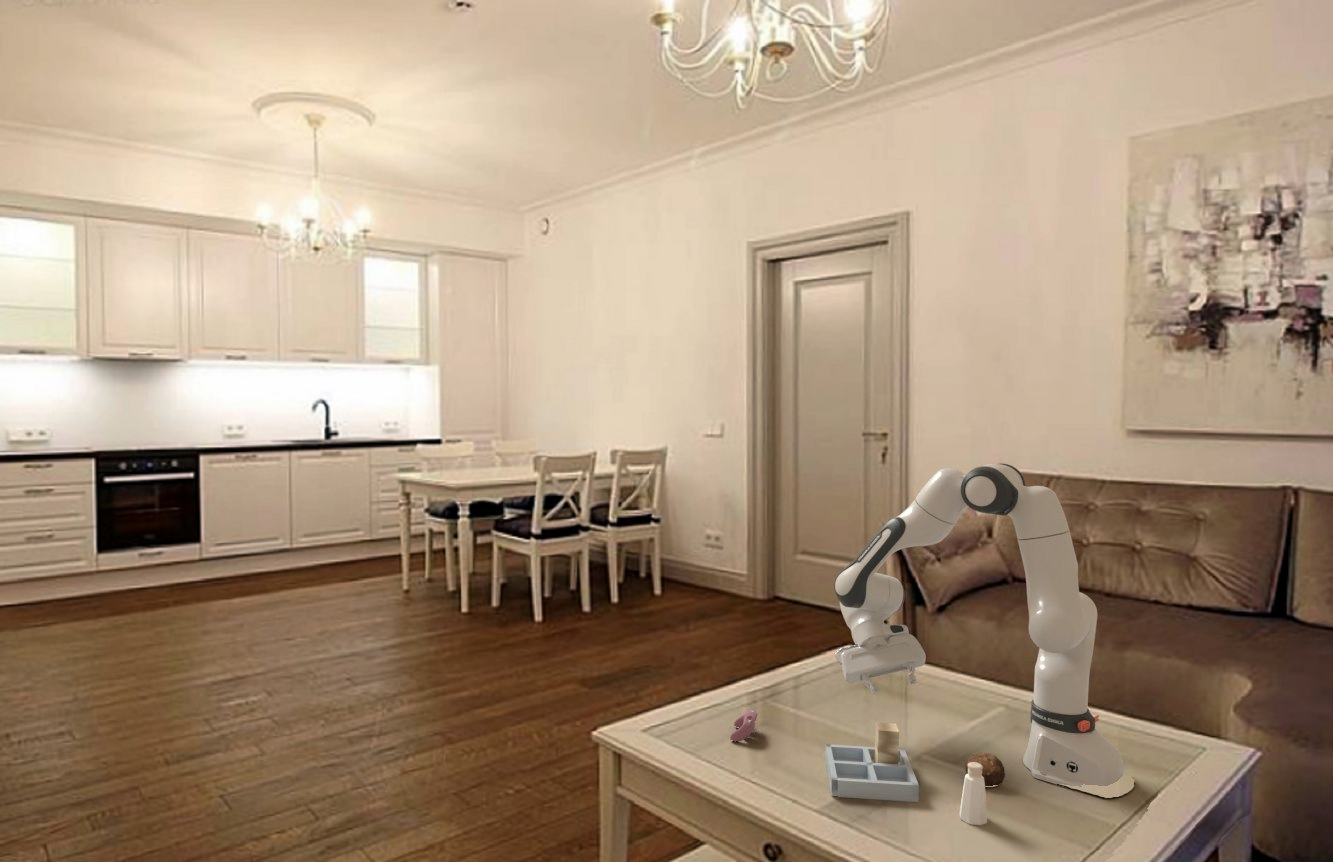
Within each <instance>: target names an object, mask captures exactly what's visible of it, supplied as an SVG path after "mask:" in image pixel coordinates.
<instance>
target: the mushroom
mask: <svg viewBox="0 0 1333 862" xmlns="http://www.w3.org/2000/svg"><path fill="white" fill-rule="evenodd" d="M970 762H976V763H979V764H981V765H982V766H983V769H982V776H983V777H984V782H985V786H993V785H998V786H1000V785H1001V784H1002V783H1003V782H1004V779H1005V778H1006V772H1005V771H1006V770H1005V766H1004V764H1003V763H1002V761H1001V759H999V758H998V756H997V755H995V754H992V753H986V752H980V753H977V754H973V755H972V756H971V757H969V758H968V759H967V761H966V762H965V764H964V768H965V773H966V774H968V763H970ZM999 784H1000V785H999Z"/></svg>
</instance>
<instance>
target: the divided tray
mask: <svg viewBox="0 0 1333 862" xmlns="http://www.w3.org/2000/svg"><path fill="white" fill-rule="evenodd" d="M874 761H875V746H862V745H861V746H859V745H846V744H845V745H844V744H830V743H829V744H827V743H826V744H825V743H824V763H825V768H826V773H827V779H828V784H829V791H830V796H831V797H832V796H838V797H837V798H850V799H851V798H852V799H863V800H864V799H865V800H878V801H879V800H881V801H895V802H909V803H911V802H913V803H919V798H920V797H919V796H920V794H919V793H920V784H919V782H918V780H917V777H916V775H915V772H914V769H913V767H912V765H911V762H910V760H909V757H908V755H907V753H906V750H905V748H899V753H898V764H884V763H875V762H874Z"/></svg>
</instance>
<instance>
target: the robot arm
mask: <svg viewBox="0 0 1333 862" xmlns="http://www.w3.org/2000/svg"><path fill="white" fill-rule="evenodd" d="M969 508H970V509H971V510H973V511H975V512H978V513H982V514H985V515H986V514H988V515H997V516H1008V517H1010V519H1011V522H1012V523H1013V526H1014V530H1015V534H1016V538H1017V544H1018V547H1019V551H1020V557H1021V561H1022V565H1023V569H1024V573H1025V582H1026V583H1025V584H1026V597H1027V608H1028V609H1027V610H1028V618H1029V620H1028V634H1029V636H1030V639H1031V640H1032V641H1033V643H1034V645H1036V646H1037V647H1038V648H1039V650H1038V654H1037V658H1036V659H1037V660H1036V663H1035V666H1034V678H1033V679H1034V684H1033V699H1032V700H1031V703H1030V723H1031V726H1030V731H1029V732H1030V734H1029V739H1028V742H1027V743H1028V744H1027V747H1026V751H1025V753H1024V756H1023V759H1022V762H1023V764H1024V765H1025V767H1026V768H1027V769H1029V770H1030V772H1031V776H1032V777H1033V778H1034V779H1036V780H1037V779H1038V780H1041V781H1045V782H1048V783H1051V784H1054V785H1057V784H1064V785H1070V786H1079V787H1082V786H1081V785H1083V784H1085V785H1098V786H1108V785H1110V784H1113V783H1115V782H1117V781H1118V780H1119V779H1120V778H1121V777H1122V776H1123V774H1124V773H1125V770H1124V769H1125V767H1124V762H1123V757H1122V754H1121V752H1119V751H1118V749H1117V748H1116V747H1115V746H1114V745H1112V744H1111V743H1110V742H1109V741H1108V739H1106V738H1105V736H1104V735H1102V734H1101V733H1100V732H1099V731H1098V729H1096V723H1097V722H1098V721H1099V720H1100V719H1099V717H1100V715H1095V716H1093V714H1092V713H1091V711H1090V710H1089V707H1088V703H1089V687H1090V685H1089V684H1090V681H1089V680H1090V672H1091V666H1092V660H1093V655H1094V654H1093V653H1094V648H1095V639H1096V633H1097V622H1098V609H1097V606H1096V604H1095V602H1094V601H1093V600H1092V599H1091V598H1090V597H1089V596H1088V595H1087V594H1085V593H1083V592H1080V587H1079V573H1078V572H1079V564H1078V560H1077V555H1076V551H1075V547H1074V543H1073V539H1072V535H1071V532H1070V531H1071V530H1070V527H1069V524H1068V520H1067V517H1066V515H1065V511H1064V509H1063V507H1062V505H1061V502H1060V500H1059V498H1058V496H1057V494H1056V492H1055V491H1054V490H1052V489H1051V488H1049V487H1046V486H1043V485H1032V486H1031V485H1030V486H1026V480H1025V477H1024V476H1023V474H1022V472H1021V471H1019V470H1018V469H1017V468H1016V467H1014V466H1013V465H1010V464H1007V463H987V464H984V465H981V466H977V467H974V468H973V469H971V470H970V471H969V472H967V474H965V473H963V472H962V471H960V470H958V469H956V468H952V467H951V468H950V467H944V468H941V469H939V470H938V471H936V472H935V473H934V475H933V476H932V477H931V478H930V479H928V481H927V482H926V483H925V485H924V486H923V487H922V488H921V490H920V491H919V492H918V494H917V495H916V497H915V498H914V500H913V501H912V503H911V504H910V505H909V506H908V507H907V508H906V509H904V511H902V512H901V513H900V514H899V515H897V516H896V517H893V518H892V519H890V520H888V521H887V522H886V523H885V524H883V525H882V527H880V529H879V530H878V531H877V532H876V534H875V535H874V536H873V537H872V538H870V541H868V543H867V544H866V545H865V546H864V547H863V549H862V550H860V552H859V553H858V555H857V556H856V557H855V558H854V559H853V560H852V561H851V562H850V563H849V564H847V565H846V566H845V567H844V568H842V569H841V571H840V572H839V573H838V574H837V576H836V578H835V581H834V592H835V595H836V598H837V600H838V601H839V607H840V611H841V614H842V616H843V619H844V621H845V623H846V626H847V628H849V629H850V633H851V637H852V638H851V639H852V640H853V642H854V645H850V646H846V647H841V648H839V650H838V651H837V652H835V659H836V660H837V663H838V664H839V665H841V670H842V673H843V677H844V680H845V681H846V682H847V683H848V684H855V683H858V682H859V683H860V682H862V683H861V684H862V685H864V686H865V688H868V689H869V690H870V691H871V694H872V695H874V694H878V693H879V687H878V685H877V682H876V683H875V682H874V683H873V682H871V681H870V680H871V679H876V678H879V677H884V676H886V675H891V674H895V673H899V672H905V671H908V672H909V673H910V674H908V675H907V681H908V682H909V685H914V684H917V683H918V680H917V678H916V675H915V673H916V672H915V671H916V668H920V667H924V665H925V664H926V659H927V658H926V652H925V651H924V649H923V647H922V645H921V644H920V642H919V640H918V639H917V638H916V637H915V636H914V635H913V634H910V633H909V628H908V626H907V625H905V624H893V623H892V624H891V623H885V621H886V620H888V619H889V618H891V617H892V616H893V615H895V614H896V613H897V612H898V611H899V610H900V609H901V608H902V606H903V604H904V603H905V597H906V595H905V594H906V593H905V589H904V588H905V587H904V585H903V583H902V582H901V580H900V579H899V578H897V577H895V576H891V575H887V574H884V573H879V572H877V571H879V570H880V569H881V567H882V566H883V565H884V563H885V562H886V561H887V560H888V558H889V557H890V556H891V555H893V554H894V553H895V552H897V551H900V550H903V549H907V548H912V547H925V546H932V545H936V544H939V543H941V542H942V541H943V540H944V539H945V538H946V537H948V536H949V534H950V533H951V532H952V531H953V529H954V527H955V525H956V524H957V522H958V521H959V520H960V518H961V517H962V515H963V513H964V512H965V511H966V510H967V509H969Z"/></svg>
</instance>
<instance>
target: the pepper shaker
mask: <svg viewBox="0 0 1333 862" xmlns="http://www.w3.org/2000/svg"><path fill="white" fill-rule="evenodd" d="M982 769H983V766H982V765H981V764H979V763H976V762H970V763H968V774H967V773H966V774H965V776H964V780H963V787H962V792H961V794H962V795H961V799H960V800H961V801H960V807H959V818H960V820H961V821H963V822H965V823H966V824H968V825H974V826H982V825H984V824H985V825H986V824H987V823H988V815H987V814H988V813H987V801H986V800H987V799H986V798H987V796H986V787H985V782H984V777H983V776H982Z"/></svg>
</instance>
